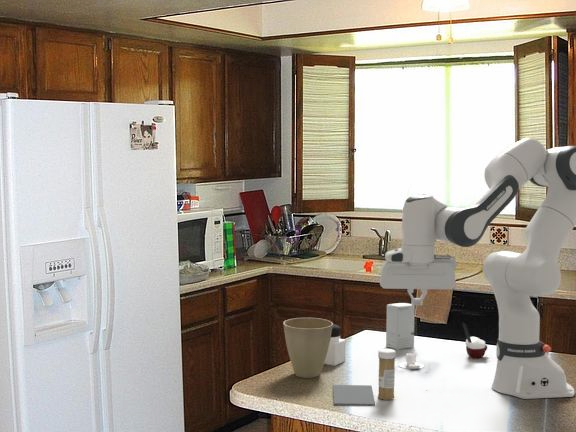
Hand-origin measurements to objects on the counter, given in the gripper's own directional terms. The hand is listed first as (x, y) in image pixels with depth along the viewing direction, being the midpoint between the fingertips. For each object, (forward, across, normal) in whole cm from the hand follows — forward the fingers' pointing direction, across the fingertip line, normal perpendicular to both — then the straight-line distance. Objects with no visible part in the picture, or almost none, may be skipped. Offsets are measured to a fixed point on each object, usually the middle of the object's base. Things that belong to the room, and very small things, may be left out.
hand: (417, 305), depth 229 cm
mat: (+26, +17, -2) cm, 31 cm away
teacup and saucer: (+27, 0, -32) cm, 42 cm away
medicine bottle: (+26, +23, -37) cm, 51 cm away
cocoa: (+26, -24, -45) cm, 57 cm away
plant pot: (+26, +30, -22) cm, 46 cm away
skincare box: (+26, -1, -58) cm, 64 cm away
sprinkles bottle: (+26, +8, 0) cm, 27 cm away
